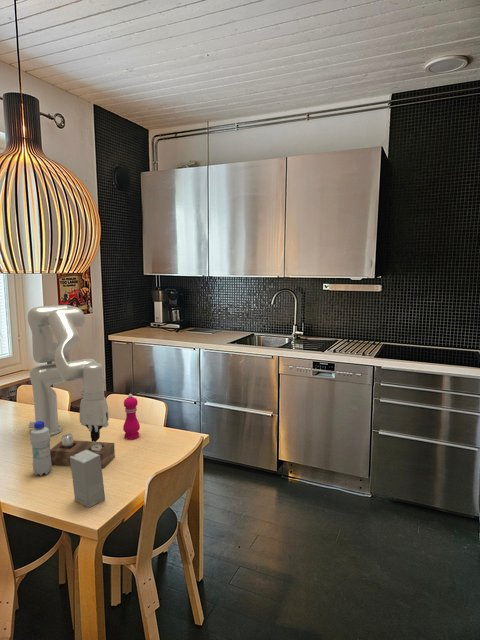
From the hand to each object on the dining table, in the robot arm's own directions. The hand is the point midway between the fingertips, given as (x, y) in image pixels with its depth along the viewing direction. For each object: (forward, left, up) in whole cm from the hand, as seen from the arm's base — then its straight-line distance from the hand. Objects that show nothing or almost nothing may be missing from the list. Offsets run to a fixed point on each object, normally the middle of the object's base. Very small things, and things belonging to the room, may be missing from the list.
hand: (95, 440), depth 164 cm
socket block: (-5, 0, -9) cm, 10 cm away
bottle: (-15, -11, -9) cm, 21 cm away
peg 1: (-11, 0, -5) cm, 12 cm away
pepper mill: (+5, +25, -9) cm, 27 cm away
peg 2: (+1, 0, -9) cm, 8 cm away
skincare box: (+11, -26, -9) cm, 30 cm away
